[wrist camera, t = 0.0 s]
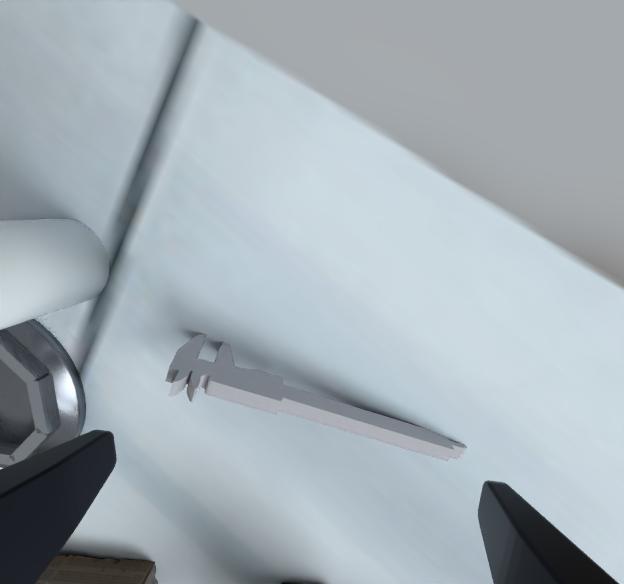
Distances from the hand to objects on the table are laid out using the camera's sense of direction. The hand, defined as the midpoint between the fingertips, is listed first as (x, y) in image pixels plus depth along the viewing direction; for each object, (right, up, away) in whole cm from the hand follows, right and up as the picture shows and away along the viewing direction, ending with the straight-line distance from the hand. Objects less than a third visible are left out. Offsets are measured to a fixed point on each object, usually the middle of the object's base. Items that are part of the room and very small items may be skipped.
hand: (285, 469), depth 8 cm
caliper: (+2, -3, +16) cm, 17 cm away
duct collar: (-25, -4, +20) cm, 32 cm away
